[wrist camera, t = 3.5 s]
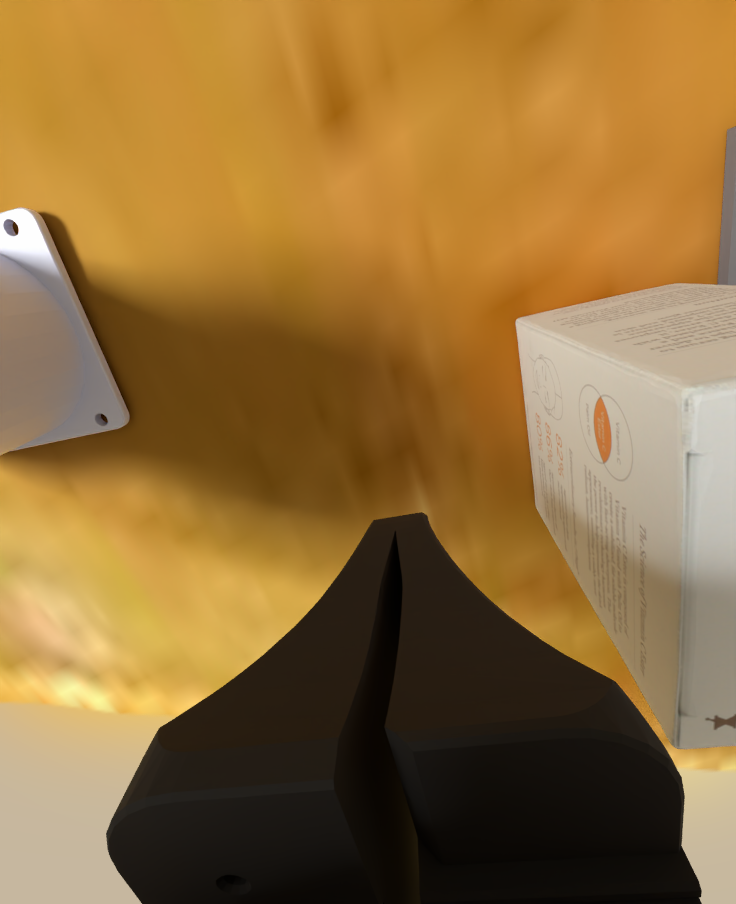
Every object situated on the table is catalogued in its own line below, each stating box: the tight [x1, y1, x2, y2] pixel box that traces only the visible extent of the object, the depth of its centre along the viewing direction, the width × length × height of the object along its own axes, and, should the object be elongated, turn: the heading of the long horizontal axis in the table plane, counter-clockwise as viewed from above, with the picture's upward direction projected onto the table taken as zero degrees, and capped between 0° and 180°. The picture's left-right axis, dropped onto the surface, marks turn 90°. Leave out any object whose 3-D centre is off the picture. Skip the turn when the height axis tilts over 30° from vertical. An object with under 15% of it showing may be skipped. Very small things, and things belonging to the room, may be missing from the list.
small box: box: [515, 283, 736, 749], centre depth 12 cm, size 8×6×10 cm
